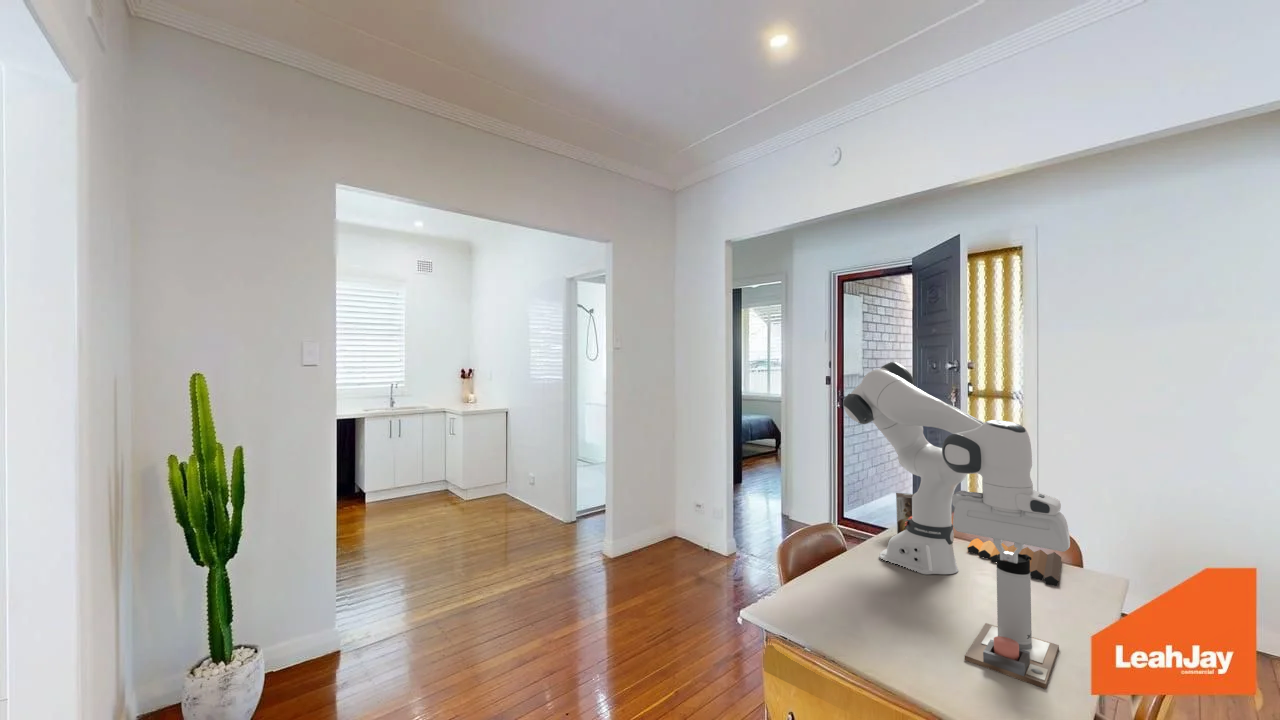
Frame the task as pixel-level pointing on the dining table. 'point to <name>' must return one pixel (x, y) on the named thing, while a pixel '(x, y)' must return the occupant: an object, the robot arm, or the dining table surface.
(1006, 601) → the travel mug
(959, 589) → the dining table surface
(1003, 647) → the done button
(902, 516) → the coffee box
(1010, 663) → the brown board with holder
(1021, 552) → the pan flute
